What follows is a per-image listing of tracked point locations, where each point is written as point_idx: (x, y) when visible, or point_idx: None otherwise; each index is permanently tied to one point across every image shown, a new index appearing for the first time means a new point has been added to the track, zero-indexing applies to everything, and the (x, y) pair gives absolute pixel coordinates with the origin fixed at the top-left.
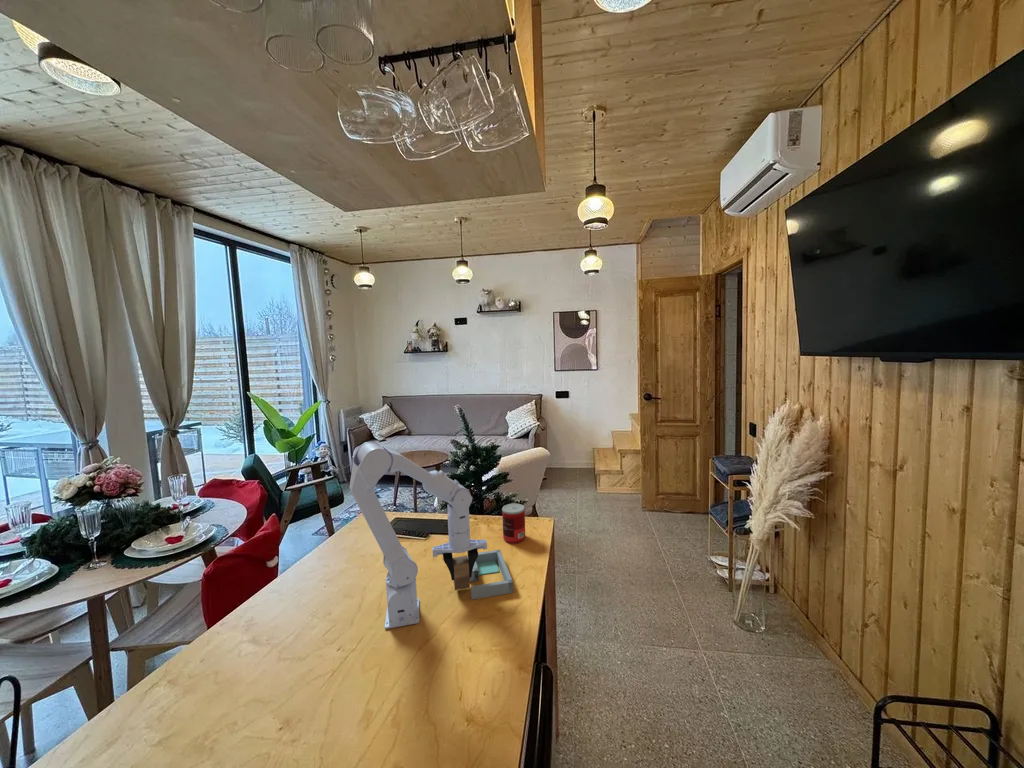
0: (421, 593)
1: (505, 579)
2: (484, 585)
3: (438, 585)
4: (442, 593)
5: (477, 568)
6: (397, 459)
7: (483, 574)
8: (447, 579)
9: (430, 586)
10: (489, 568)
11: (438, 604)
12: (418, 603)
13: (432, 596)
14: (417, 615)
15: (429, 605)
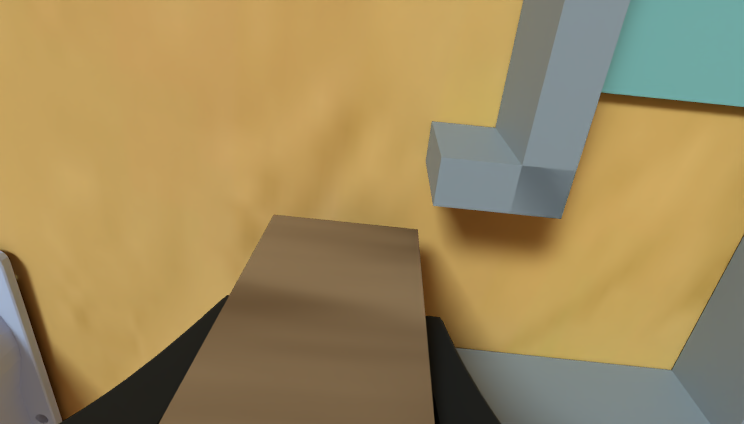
0: (7, 169)
1: (736, 329)
2: None
3: (144, 106)
4: (188, 231)
5: (569, 179)
6: None
7: (616, 93)
8: (231, 31)
9: (67, 93)
10: (741, 12)
11: (165, 331)
12: (12, 311)
13: (110, 238)
14: (39, 405)
15: (104, 320)
